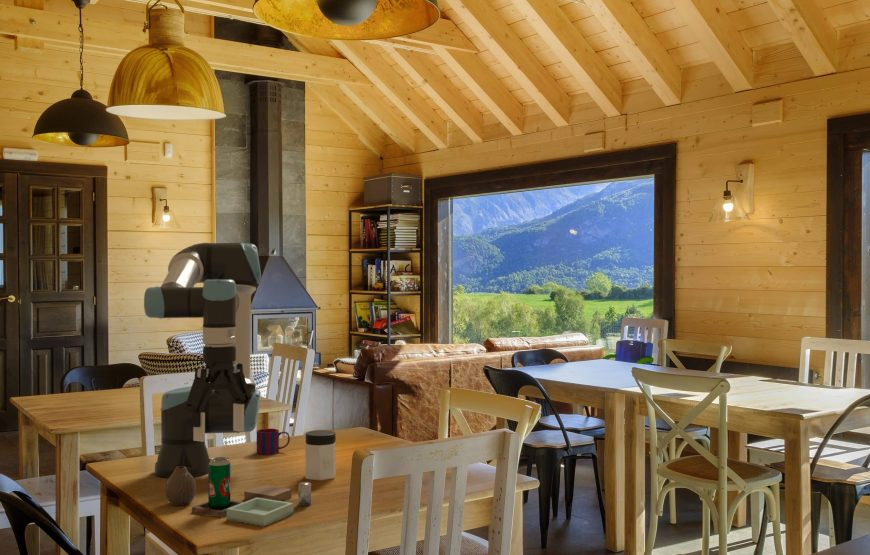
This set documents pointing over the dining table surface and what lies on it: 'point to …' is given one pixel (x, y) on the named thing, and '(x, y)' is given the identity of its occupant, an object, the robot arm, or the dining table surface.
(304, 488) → the salt shaker
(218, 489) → the soda can
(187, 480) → the vase
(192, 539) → the dining table surface
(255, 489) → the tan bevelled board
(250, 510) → the tray
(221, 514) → the brown square frame
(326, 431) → the jar
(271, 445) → the mug
